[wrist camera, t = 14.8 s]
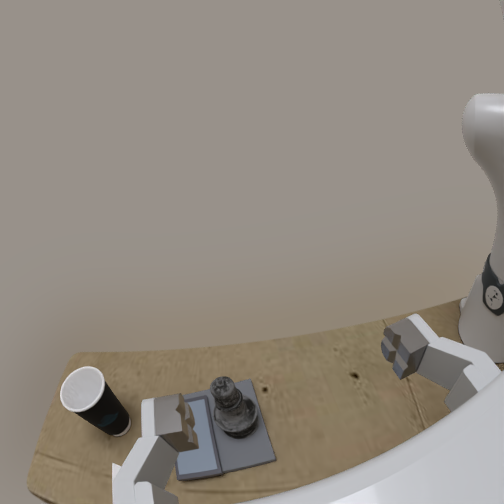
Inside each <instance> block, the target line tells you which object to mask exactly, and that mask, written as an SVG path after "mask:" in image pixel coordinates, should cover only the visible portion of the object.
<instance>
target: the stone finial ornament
mask: <svg viewBox="0 0 504 504" xmlns="http://www.w3.org/2000/svg"><path fill="white" fill-rule="evenodd" d="M210 391H211V394H212V395H213V397H214V405H215V407H214V411H213V418H214V421H215V423H216V424H217V426H218V427H220V428H221V429H223V431H224V432H225V434H227V435H228V436H229V437H231V438H234V439H244V438H247V437H250V436H251V435H253V434H254V433H255V432H256V430H257V429H258V427H259V417H258V415H257V413H258V411H257V406H256V404H255V402H254V401H253V400H252V399H251V398H250V397H248V396H246V395H243V394H242V393H241V391H240V390H239V389H237V388H236V387H235V384H234V382H233V381H232V380H231V379H230V378H228V377H218V378H216V379H215V380H214V381H213V382H212V383H211V386H210Z"/></svg>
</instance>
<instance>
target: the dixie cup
mask: <svg viewBox="0 0 504 504" xmlns="http://www.w3.org/2000/svg"><path fill="white" fill-rule="evenodd" d="M60 398H61V402H62V404H63V405H64V407H65V408H66V409H68V410H70V411H72V412H75V413H76V414H78V415H79V416H80V417H82V418H83V419H85V420H86V421H88V422H89V423H91V424H93V425H94V426H96V427H97V428H99V429H101V430H102V431H104V432H105V433H107V434H109V435H113V436H122V435H124V434H125V433H126V432H127V431H128V430H129V428H130V426H131V420H130V417H129V415H128V413H127V411H126V410H125V409H124V407H123V406H122V405H121V403H120V402H119V400H118V399H117V398H116V396H115V395H114V393H113V392H112V390H111V389H110V388H109V386H108V385H107V383H106V382H105V380H104V376H103V374H102V373H101V371H99V370H98V369H96V368H94V367H82V368H79V369H77V370H75V371H74V372H72V373H71V374H70V375H69V376H68V377H67V378H66V380H65V381H64V383H63V385H62V387H61V392H60Z"/></svg>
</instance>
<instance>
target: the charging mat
mask: <svg viewBox="0 0 504 504" xmlns="http://www.w3.org/2000/svg"><path fill="white" fill-rule="evenodd" d="M234 384H235V387H236V388H237V389H239V390H240V391H241V393H242V394H243V395H246V396H248V397H250V398H251V399H252V400H253V401H254V402H255V404H256V406H257V411H258V413H257V415H258V417H259V427H258V429H257V430H256V432H255V433H254V434H253V435H251V436H250V437H247V438H244V439H234V438H231V437H229V436H228V435H227V434H225V432H224V431H223V429H221V428H220V427H218V426H217V424H216V423H215V421H214V418H213V411H214V407H215V405H214V397H213V395H212V394H211V391H210V389H209V390H204V391H200V392H195V393H191V394H186V395H182V396H183V397H184V400H185V399H190V398H195V397H199V396H204V395H207V397H208V401H209V407H210V412H211V417H212V423H213V428H214V433H215V438H216V443H217V448H218V452H219V457H220V462H221V466H222V470H223V473H227V472H232V471H237V470H241V469H246V468H250V467H254V466H258V465H262V464H266V463H269V462H273V461H276V458H275V455H274V452H273V449H272V446H271V443H270V440H269V437H268V433H267V430H266V427H265V424H264V421H263V418H262V414H261V411H260V408H259V405H258V402H257V398H256V395H255V392H254V388H253V385H252V382H251V379H248V380H244V381H240V382H237V383H234Z"/></svg>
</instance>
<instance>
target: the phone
mask: <svg viewBox="0 0 504 504" xmlns="http://www.w3.org/2000/svg"><path fill="white" fill-rule="evenodd" d="M184 402H186V403H188V404H189V405H190V407H191V409H192V412H193V415H194V419H195V426H194V428H193V430H194V431H195V432H196V434H197V438H198V444H199V449H195V450H190V451H184V452H178V453H179V455H178V458H177V460H176V463H175V467H176V475H177V480H179V481H186V480H193V479H200V478H207V477H213V476H218V475H223V470H222V466H221V462H220V457H219V452H218V448H217V443H216V438H215V433H214V428H213V423H212V417H211V412H210V407H209V401H208V397H207V395H204V396H199V397H195V398H190V399H185V400H184Z"/></svg>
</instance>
